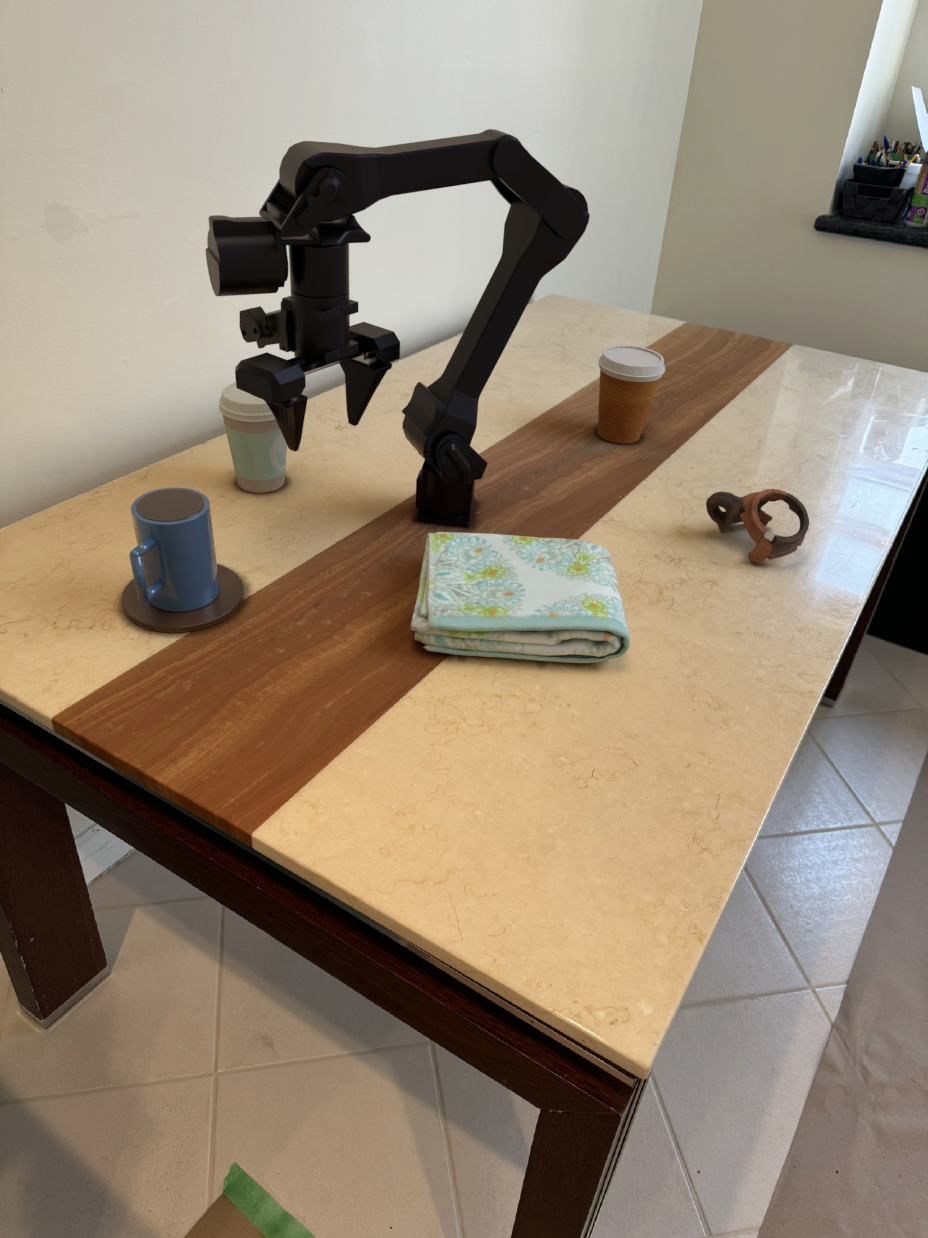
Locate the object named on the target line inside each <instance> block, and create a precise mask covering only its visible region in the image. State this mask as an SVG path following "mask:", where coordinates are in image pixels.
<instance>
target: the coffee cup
mask: <svg viewBox="0 0 928 1238" xmlns="http://www.w3.org/2000/svg"><path fill="white" fill-rule="evenodd" d="M218 410H219V412H220V413H221V415H222V419H223V424H224V429H225V432H226V433H225V434H226V437H227V443H228V446H229V450H230V455H231V460H232V466H233V469H234V473H235V478H236V482H237V485H238V486H239V488H241V489H242V490H244V491H245V492H246V491H247V492H250V493H259V494H261V493H271V492H274V491H276V490H279V489H280V488H281V487H283V486H284V485H285V478H286V467H287V465H286V464H287V449H288V446H287V444H286V441H285V439H284V437H283V435H282V432H281V430H280V428H279V426H278V424H277V421H276V419H275V417H274V415H273V413H272V412H271V410H270V408H269V407H268V405H267V403H266V402H265V401H264V400H263V399H260V398H258V397H255V396H253V395H251V394H249V393H247V392H245V391H242V390H240V389H237V388H236V381H234V382H232V383H230V384H228V385H226V386H225V387H224V388H223V389H222V391H221V395H220V399H219V400H218Z"/></svg>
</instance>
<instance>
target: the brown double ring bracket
mask: <svg viewBox="0 0 928 1238" xmlns="http://www.w3.org/2000/svg"><path fill="white" fill-rule="evenodd" d="M777 501H783V502H784V503H786V504H787V505H788V509H789V510H790V511H791V512H792V513H794V514H795V515H796V516H797V517H798V520H799V528H798V531H797V532H796V533H795V534H792V535H789V536H786V535H785V536H784V535H778V534H775V535H774V536H773V537H772V540H770V539H768V538H766V537H765V535H766V533H767V532H768V529H767V528H766V526H767V525H768V524H769V522H771V521H772V520H773V516H772V515H770V514H769V513H767V512H765V511H764V510H763V509H762V508H763V507H764V506H765V505H767V504H768V503H769V502H772V503H773V502H777ZM705 505H706V507H705V508H706V512H707V514H708V516H709V518H710V519H711V521H713V523H715V524H716V526H717V527H718V530H719V533H720V534H723V535H724V534H725V533H726V531H727V530H728V529H729V528H730V527H731V526H733V525H734V524H739V523H743V526H744V527H745V529H746V531H747V533H748V534H749V536H750V538H751V539H752V541H753V542H754V543H755V544H756V545H755V546H754V548H753V549H752V550H751V551H749V552H748V554H747V558H748V560H750V561H752V562H753V563H755V564H760V563H762V562H765V561H766V560H767V559H768V560H775V559H779V558H782V557H786V556H788V555H790V554H792V553H795V552H796V551H797V550H798V547H800V546H802V544H803V542H804V540H805V537H806V534H807V533H808V531H809V528H810V527H809V526H810V517H809V513H808V511H807V509H806V507H805V505H804V504H803V503H802V502H801V500H799V498H797V497H796V496H794V495H793V494H792V493H789V492H787V491H784V490H781V489H778V488H777V489H776V488H767V489H762V490H760V491H755V492H750V493H748V494H746V495H744V496H738V495H736V494H734V493H732V492H729V491H716V492H714V493H712V494H711V495H709V497H707V499H706V501H705ZM721 508H722V509H724V510H725V511H722V509H721Z"/></svg>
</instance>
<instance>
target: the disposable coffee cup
mask: <svg viewBox="0 0 928 1238" xmlns="http://www.w3.org/2000/svg"><path fill="white" fill-rule="evenodd" d="M597 364H598V367H599V389H598V390H599V391H598V392H599V393H598V412H597V413H598V416H597V420H598V421H597V434H598V436H599V437H600V438H602V439H604V440H606V441H609V442H612V443H617V444H632V443H636V442H637V441H639V440H640V439H641V435H642V432H643V428H644V426H645V423H646V420H647V417H648V415H649V412H650V409H651V406H652V403H653V400H654V397H655V394H656V391H657V388H658V385H659V383H660V379H661V378H662V377H663V375H664V374H665V372H666V366H665V359H664V357H663V355H662V354H661V353H659V352H657V351H655V350H654V349H653V350H652V349H651V348H650V349H649V348H647V347H643V346H637V345H629V344H618V345H617V344H616V345H611V346H608V347H605V349H603V351H602V353H601V356H599V358H598V360H597Z"/></svg>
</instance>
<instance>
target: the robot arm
mask: <svg viewBox="0 0 928 1238" xmlns="http://www.w3.org/2000/svg"><path fill="white" fill-rule="evenodd" d="M278 173H279V176H278V177H279V178H278V180H277V181H276V183H275V185H274V187H273V188H272V189H271V192H269V195H268V196H267V197H266V200H264V202H263V204H262V206H261V207H260V209H259V211H258V215H259V216H235V217H234V216H228V215H223V214H221V215H220V214H218V215H209V216H208V231H207V240H206V241H207V242H206V244H207V248H206V247H205V259H206V265H207V267H206V268H207V272H208V277H209V282H210V285H211V288H212V291H213V293H214V296H216V297H231V296H232V297H233V296H234V297H235V296H246V295H247V296H249V295H267V294H268V295H269V294H277V293H278V291H279V288H284V287H285V284H286V281H287V280H288V279H289V282H290V284H289V285H290V295H289V296H285V297H282V298H281V301H280V309H277V310H272V311H269V312H265V310H264V308H263V307H262V306H261V305H260V306H255V307H249V308H246V309H243V310H239V330H240V333H241V337H242V339H243V340H244V341H245V342H246V343H248V344H249V343H255V342H256V346H257V349H264V348H266V346H272V345H277V344H278V349H279V350H280V351H283V352H285V353H289V352H292V353H293V355H294V357H291V358H289V359H287V358H283V357H280V356H278V355H275V354H272V353H270V352H268V351H267V352H264V353H260V354H257V355H254V356H251V357H248V358H245V359H241V360H240V361H239V362H238V363H237V365H236V366H235V368H234V374H235V375H234V376H235V382H236V388H237V389H240V390H242V391H245V392H247V393H249V394H251V395H253V396H255V397H258V398H260V399H263V400H264V401H265V402H266V403H267V405H268V407H269V408H270V410H271V412H272V413H273V415H274V417H275V419H276V421H277V424H278V426H279V428H280V430H281V432H282V435H283V437H284V439H285V441H286V444H287V449H289V450H290V451H292V452H298V451H299V449H300V446H301V442H302V436H303V430H304V424H305V418H306V411H307V406H308V396H307V395H305V394H302V393H303V392H304V390H305V388H306V387H307V383H306V376H307V375H310V374H313V373H316V372H319V371H322V370H325V369H328V368H331V367H333V366H335V365H339V366H340V368H341V370H342V371H343V374H344V383H345V384H344V387H345V403H346V404H345V405H346V406H345V407H346V417H347V420H348V421H347V422H348V424H349V425H351V426H354V427H356V426H358V425H359V424H360V421H361V419H362V418H363V416H364V413H365V412H366V410H367V408H368V406H369V404H370V402H371V400H372V398H373V396H374V394H375V392H376V391H377V389H378V387H380V385H381V382H382V380H383V379H384V377H385V376H386V374H387V372H388V371H389V370H391V369H392V368H393V363H392V362H395V361H397V360H400V358H401V341H400V340H399V338H398V336H397V335H396V333H395V331H393V330H390V329H387V328H384V327H382V326H378V325H375V324H372V323H370V322H366V321H362V322H358V323H355V324H352V325H351V323H350V322H351V321H350V320H351V318H350V316H351V315H355V314H357V313H359V301H356V300H355V299H351V298H350V244H364V243H365V244H367V243H370V242H371V239H372V237H371V235H370V234H369V233H368V232H367V231H366V230H365V229H364V228H363V227H362V226H361V225H360V223H359V221H358V220H357V218H356V216H355V214H358V213H360V212H363V211H365V210H367V209H368V208H370V207H372V206H373V205H375V204H376V203H378V202H379V201H381V200H385V199H387V198H389V197H393V196H400V195H405V194H412V193H418V192H425V191H426V192H427V191H431V190H438V189H444V188H451V187H456V186H464V185H470V184H477V183H483V182H489V183H491V185H492V186H493V187H494V189H495V191H496V192H497V193H498V194H499V195H500V196H501V198H503V199H504V200H505V201H506V203H507V204H508V205H509V210H508V212H507V215H506V218H505V221H504V225H503V236H502V237H503V238H502V251H501V256H500V258H499V260H498V262H497V265H496V267H495V268H494V270H493V273H492V275H491V277H490V279H489V280H488V283H487V285H486V287H485V289H484V290H483V293H482V295H481V297H480V299H479V301H478V302H477V304H476V307H475V308H474V311H473V312H472V314H471V317H470V318H469V320H468V323H467V325H466V326H465V328H464V331H463V332H462V334H461V337H460V338H459V340H458V343H457V345H456V346H455V349H454V351H453V352H452V355H451V356H450V359H449V360H448V362H447V364H446V366H445V369H444V371H443V372H442V373H441V375H440V376H439V377H438V378H437V379H436V380H434V381H433V382H432V383H431V384H429V385H428V386H427V385H425V384H424V383H423V382H421V381H418V382H417V383H416V384H415V386H414V389H413V392H412V395H411V397H410V400H409V401H408V403H407V405H406V406H405V407H404V408H403V409H402V410H401V413H402V414H403V415H404V416H403V420H402V427H401V429H402V430H403V434H404V436H405V439H406V440H407V441H408V442H409V444H410V445H411V446H412V447H413V448H414V450H416V451H417V453H418V454H419V456H421V457H422V459H424V461H423V464H422V466H421V469H420V470H419V471H418V474H417V476H416V480H415V483H416V484H415V503H414V504H415V505H414V507H415V509H417V510H418V511H417V514H416V520H417V521H419V522H427V523H436V524H444V525H452V526H461V527H470V526H471V522H472V518H473V514H474V509H475V505H476V498H474V497H475V486H476V481H477V480H481V479H482V478H483V476H484V475H485V472H486V469H487V467H488V461H486V459H484V457H483V456H481V454H479V453H478V452H477V451H476V450H475V449H474V448H473V447H472V446H471V443H472V441H473V438H474V435H475V432H476V429H477V425H478V411H479V401H480V397H481V394H482V393H483V391H484V388H485V387H486V385H487V383H488V381H489V379H490V378H491V376H492V374H493V372H494V370H495V368H496V366H497V364H498V362H499V360H500V358H501V357H502V354H503V352H504V350H505V349H506V346H507V345H508V343H509V341H510V339H511V338H512V335H513V333H514V331H515V330H516V328H517V326H518V324H519V322H520V320H521V318H522V316H523V314H524V312H525V310H526V308H527V306H528V305H529V303H530V301H531V299H532V297H533V295H534V293H535V291H536V289H537V287H538V285H539V283H540V282H541V281H542V279H543V278H544V277H545V276H546V275H547V274H549V273H550V272H551V271H552V270H554V269H555V268H556V267H558V265H560V264H561V263H562V262H564V261H565V260H566V259H567V258H568V256H569V255H570V253H571V252H572V251H573V249H574V248H575V247H576V245H577V244H578V242H579V241H580V239H581V238H582V237H583V236H584V234H585V232H586V230H587V227H588V224H589V222H590V216H591V214H590V212H589V205H588V202H587V200H586V197H585V195H584V194H583V193H582V192H581V191H580V190H579V189H577V188H574V187H571V186H570V185H567V184H564V183H562V182H561V181H560V179H558V178H557V176H555V175H554V174H553V173H552V172H551V171H550V170H548V169H547V168H546V167H545V166H544V165H542V163H540V162H539V161H538V160H537V159H536V158H535V157H534V156H532V155H531V153H530V152H529V151H528V150H527V149H526V148H525V146H524V145H523V144H522V142H521V141H520V140H519V138H517V137H516V136H514V135H512V134H510V133H507V132H504V131H501V130H498V129H493V128H488V129H485V130H483V131H482V132H479V133H472V134H465V135H458V136H457V135H456V136H451V137H450V136H449V137H443V138H436V139H429V140H419V141H413V142H406V143H399V144H391V145H384V146H383V145H382V146H377V147H371V146H360V145H354V144H346V143H340V142H327V141H314V140H304V141H299V142H296V143H294V144H292V145H291V146H289V147H288V148H287V151H286V152H285V154H284V155H283V157H282V159H281V161H280V165H279V171H278ZM287 246H288V247H287ZM287 248H288V249H287Z"/></svg>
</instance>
